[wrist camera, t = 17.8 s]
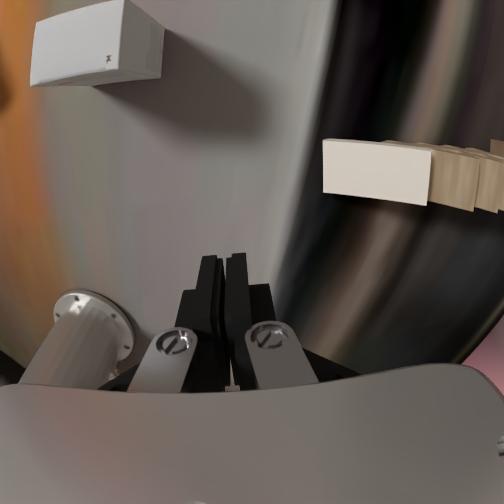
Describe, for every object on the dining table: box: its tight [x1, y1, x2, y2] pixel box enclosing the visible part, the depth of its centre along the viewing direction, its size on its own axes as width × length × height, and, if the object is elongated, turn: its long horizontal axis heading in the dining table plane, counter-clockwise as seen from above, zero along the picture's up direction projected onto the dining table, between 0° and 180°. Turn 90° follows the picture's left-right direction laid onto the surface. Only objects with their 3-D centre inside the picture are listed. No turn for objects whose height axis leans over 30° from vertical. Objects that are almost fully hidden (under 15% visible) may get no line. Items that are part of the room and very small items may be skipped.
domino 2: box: [382, 140, 480, 212], centre depth 25 cm, size 2×5×10 cm
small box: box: [30, 0, 165, 87], centre depth 19 cm, size 8×6×10 cm
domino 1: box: [323, 139, 431, 206], centre depth 26 cm, size 2×5×10 cm
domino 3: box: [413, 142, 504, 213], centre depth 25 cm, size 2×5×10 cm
